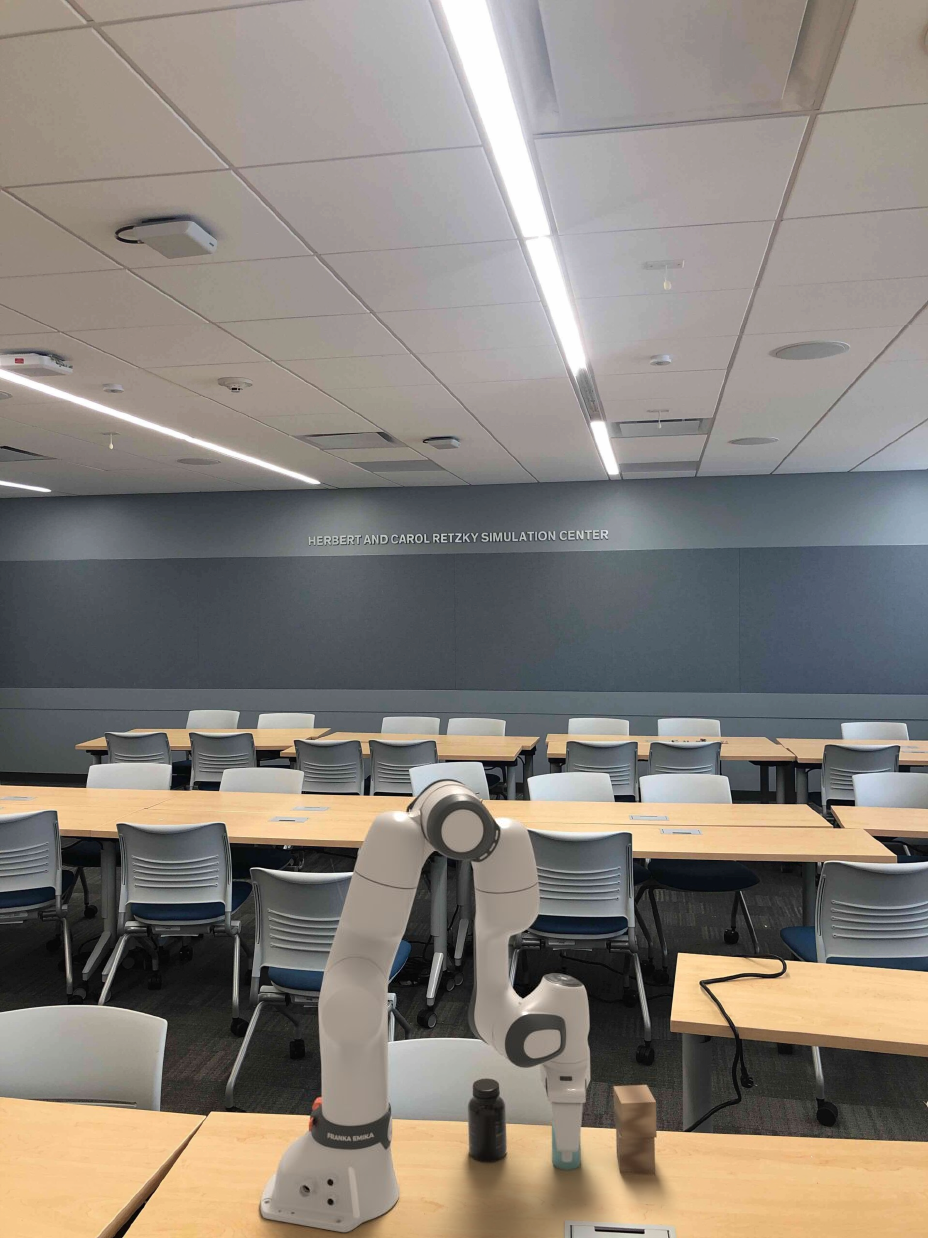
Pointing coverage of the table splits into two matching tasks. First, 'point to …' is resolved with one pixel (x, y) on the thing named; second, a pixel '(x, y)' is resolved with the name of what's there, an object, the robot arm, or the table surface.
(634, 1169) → the tower base
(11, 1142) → the table surface
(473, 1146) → the supplement bottle
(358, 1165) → the robot arm
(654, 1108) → the tower top
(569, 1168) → the teal rounded cylinder
